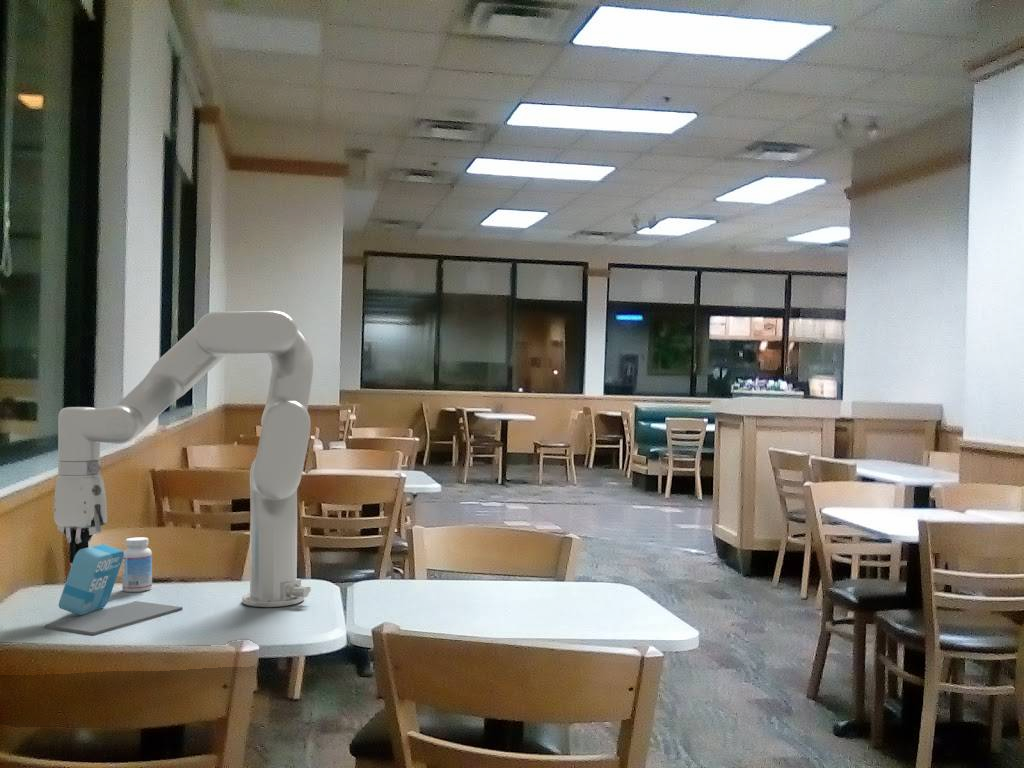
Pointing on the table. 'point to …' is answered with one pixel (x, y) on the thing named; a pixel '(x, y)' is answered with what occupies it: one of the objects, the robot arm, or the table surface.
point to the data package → (91, 579)
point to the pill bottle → (137, 565)
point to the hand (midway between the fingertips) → (78, 562)
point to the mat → (113, 617)
